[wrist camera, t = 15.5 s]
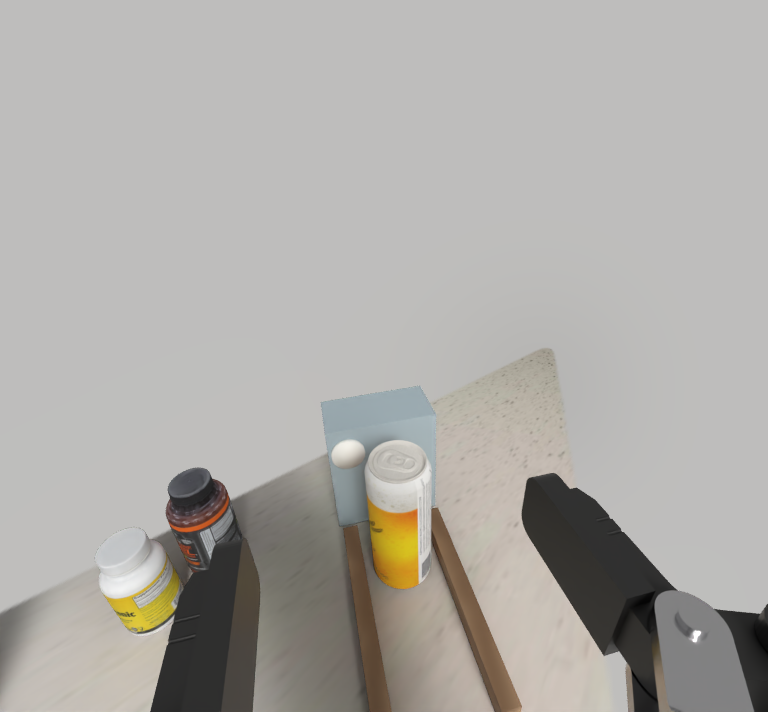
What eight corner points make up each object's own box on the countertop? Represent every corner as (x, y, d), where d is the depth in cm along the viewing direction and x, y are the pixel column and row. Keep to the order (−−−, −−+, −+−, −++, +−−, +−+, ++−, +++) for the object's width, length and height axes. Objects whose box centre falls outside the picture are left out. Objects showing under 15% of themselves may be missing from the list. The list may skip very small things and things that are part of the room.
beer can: (388, 533, 45) (381, 431, 38) (438, 552, 43) (440, 446, 36) (364, 579, 40) (351, 472, 33) (418, 604, 38) (416, 494, 31)
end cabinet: (340, 529, 46) (325, 437, 39) (334, 489, 52) (320, 402, 45) (436, 508, 48) (437, 416, 41) (421, 471, 54) (419, 385, 47)
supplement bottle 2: (178, 561, 43) (143, 488, 38) (223, 522, 48) (197, 452, 43) (210, 589, 40) (177, 514, 35) (255, 545, 45) (232, 472, 40)
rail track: (377, 764, 28) (375, 753, 27) (345, 540, 45) (343, 528, 44) (518, 718, 30) (521, 706, 29) (437, 519, 47) (437, 507, 46)
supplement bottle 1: (117, 614, 39) (76, 550, 34) (171, 572, 42) (140, 510, 38) (140, 652, 36) (97, 587, 31) (196, 603, 39) (165, 539, 35)
